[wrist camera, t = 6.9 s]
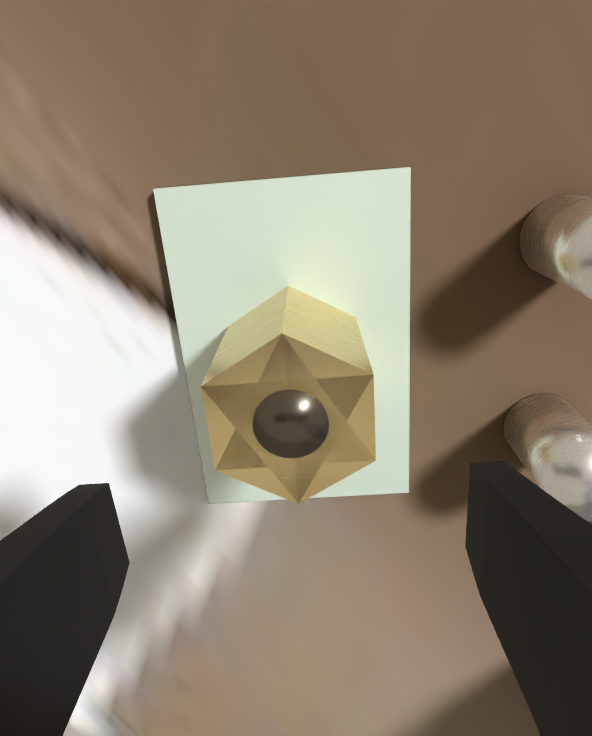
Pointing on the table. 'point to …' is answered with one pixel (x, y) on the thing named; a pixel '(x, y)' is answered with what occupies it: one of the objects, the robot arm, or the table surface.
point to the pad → (305, 273)
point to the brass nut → (291, 397)
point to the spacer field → (548, 411)
